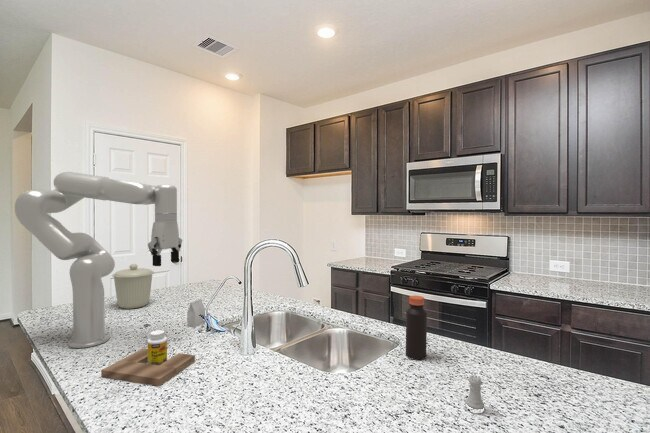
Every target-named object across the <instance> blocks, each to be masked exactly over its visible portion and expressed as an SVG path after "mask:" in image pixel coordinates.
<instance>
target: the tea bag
mask: <svg viewBox="0 0 650 433" xmlns="http://www.w3.org/2000/svg"><path fill="white" fill-rule="evenodd" d="M202 300H203V299H202V298H200V299H197V300H195V301H192V302H190V303H189V304H190V305H189V308H188V310H187V320H186V321H187V323H186V324H187V327H189V328H197V327H199V326H200V325H202V324H204V323H205V322H204V320H203V318H202V317H201V316H199V315H200V314H201V315H205V316H206V307H205V305H204V303H203V301H202ZM203 322H204V323H203Z"/></svg>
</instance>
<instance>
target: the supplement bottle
mask: <svg viewBox="0 0 650 433" xmlns="http://www.w3.org/2000/svg"><path fill="white" fill-rule="evenodd" d="M165 334H166V333H165V330H161V329H160V330H159V329H158V330H157V329H156V330H153V331H151V332H150V335H149V336H150V338H148V339H147V349H148V363H147V364H153V365H161V364H162V363H164V362H165V361H167V360H168V338H167V336H165Z"/></svg>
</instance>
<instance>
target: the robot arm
mask: <svg viewBox="0 0 650 433" xmlns="http://www.w3.org/2000/svg"><path fill="white" fill-rule="evenodd" d="M53 187H54V189H53V190H50V189H29V190H26V191H25V190H24V192H22V193H20V194H19V195H18V196H17V198H16V200H15V202H14V213H15V216H16V219H17V220H18V222H19V223H20V224H21V225H22V226H23V227H24V228H25V229H26V230H27V231H28V232H29V233H31V235H33V236H34V237H35V238H36V239H37V240H38V241H39V242H40V243H41V244H42V245H43V246H44V247H45V248H46V249H47V250H49V252H50V253H52V255H53V256H55V257H56V258H57V259H59V260H61V261H70V260H73V259H74V261H73V262H72V263H71V265H70V268H69V278H70V279H69V280H70V282H71V287H72V288H71V289H72V324H73V325H72V328H71V329H70V330H69V331H67V332H66V334H67V336H71V339H69V340H68V341H67V345H68V347H70V348H73V349H83V348H84V349H85V348H92V347H94V346H95V347H96V346H99V345H101V344H104V343H106V342H107V341H109V340H110V335H111V334H110V333H108V332H106V330H105V329H106V328H105V326H106V325H105V324H106V321H105V314H106V313H105V310H106V309H105V308H106V307H105V287H104V284H103V280H102V278H104V277H107V276H109V275H110V274H111V273H112V272H113V271H114V269H115V268H116V266H115V265H116V263H115V259H114V257H113V256H112V255H111V253H109V252H108V251H107V250H106V249H105V247H103V246H102V245H101V244H100V243H99V242H98V241H97V240H96V239H95V238H94V237H92V235H89V234H87V233H85V232H72V231H69V230H68V229H67V228H66V227H65V226H64V224H62V223H61V222H60V221H59V220H57V219H56V218H54V217H53V216H51V214H58V213H61V212H64V211H66V210H67V209H69V208H70V207H72V206H73V205H75V204H77V203H78V202H79V201H81V200H83V199H84V198H86V199H93V200H99V201H111V202H116V203H117V202H118V203H124V204H131V205H145V206H146V205H153V204H154V221H153V224H152V227H151V228H152V229H151V236H150V238H151V239H150V241H149V242H148V243H147V247H148V249H149V250H148V251H149V252H150V254H151V256H152V267H161V266H162V254H161V253H162V251H163V250H168V249H170V250H171V251H170V262H172V263H178V262H180V252H181V247H182V243H183V239H182V238H181V237H180V234H179V233H180V232H179V231H180V230H179V225H178V202H177V201H178V190H177V187H176V186H175V185H171V184H157V185H151V184H146V183H141V182H131V181H126V180H125V181H124V180H119V179H118V180H117V179H112V178H109V177H106V176H101V175H100V176H99V175H93V174H88V173H87V174H86V173H79V172H73V171H65V172H61V173H59V174H57V175H56V176H55V177H54V179H53ZM49 214H50V215H49Z"/></svg>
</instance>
